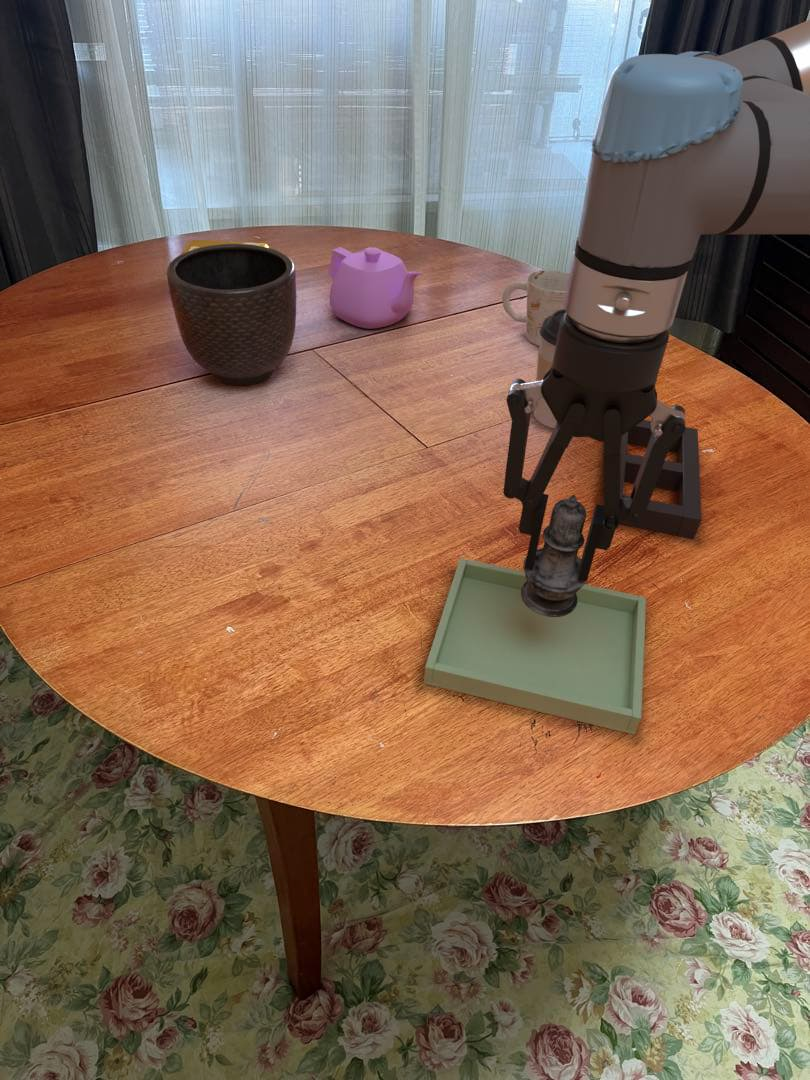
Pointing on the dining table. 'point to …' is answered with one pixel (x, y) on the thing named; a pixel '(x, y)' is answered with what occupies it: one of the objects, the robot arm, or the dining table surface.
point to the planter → (235, 309)
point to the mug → (538, 299)
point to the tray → (541, 649)
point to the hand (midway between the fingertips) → (557, 564)
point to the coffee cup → (547, 363)
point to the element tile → (204, 243)
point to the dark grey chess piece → (557, 563)
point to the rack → (667, 483)
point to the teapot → (370, 287)
